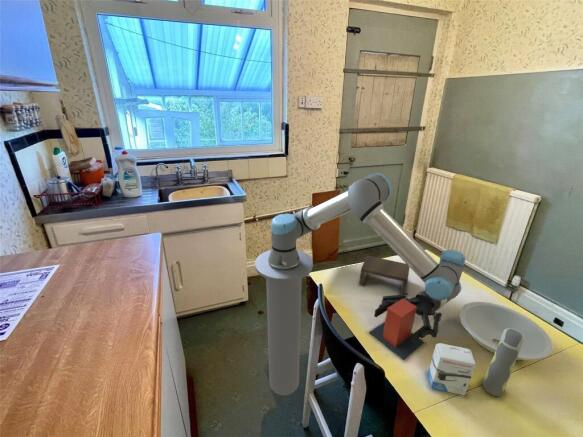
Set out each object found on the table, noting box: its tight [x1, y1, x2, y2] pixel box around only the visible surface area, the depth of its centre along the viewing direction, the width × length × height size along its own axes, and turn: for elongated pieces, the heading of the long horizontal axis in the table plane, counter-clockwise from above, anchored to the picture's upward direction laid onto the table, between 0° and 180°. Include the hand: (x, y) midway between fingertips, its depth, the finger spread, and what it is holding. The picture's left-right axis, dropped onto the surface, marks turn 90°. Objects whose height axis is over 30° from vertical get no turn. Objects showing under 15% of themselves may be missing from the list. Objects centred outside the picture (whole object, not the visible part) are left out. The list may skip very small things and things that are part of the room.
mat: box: [369, 321, 425, 361], centre depth 93 cm, size 13×11×1 cm
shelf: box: [358, 255, 410, 294], centre depth 120 cm, size 18×12×8 cm, turn 66°
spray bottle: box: [481, 328, 524, 397], centre depth 73 cm, size 5×5×20 cm
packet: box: [383, 299, 417, 347], centre depth 91 cm, size 5×8×12 cm, turn 126°
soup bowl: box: [458, 301, 554, 361], centre depth 91 cm, size 24×24×7 cm
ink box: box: [427, 342, 477, 396], centre depth 76 cm, size 8×5×12 cm, turn 76°
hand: (392, 325), depth 89 cm, fingers open, 12 cm apart
